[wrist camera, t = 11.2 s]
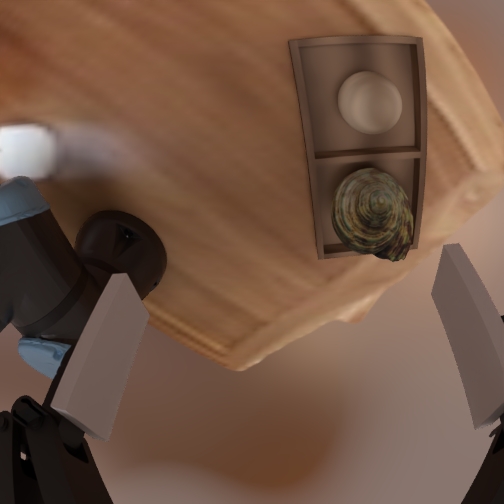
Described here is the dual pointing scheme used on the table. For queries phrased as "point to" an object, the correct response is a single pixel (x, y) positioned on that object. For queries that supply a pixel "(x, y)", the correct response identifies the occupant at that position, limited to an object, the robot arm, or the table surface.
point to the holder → (350, 140)
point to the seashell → (372, 215)
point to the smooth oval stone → (369, 102)
